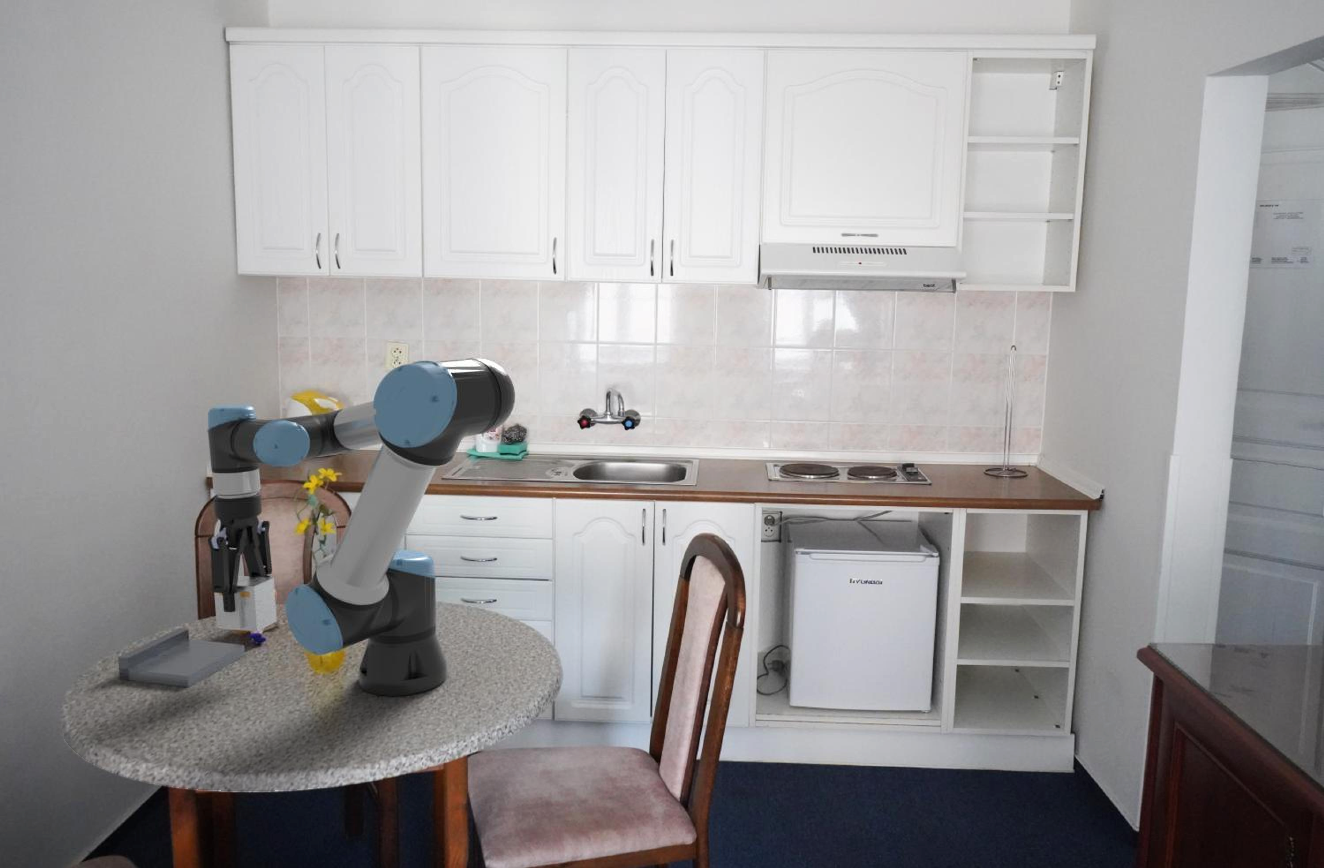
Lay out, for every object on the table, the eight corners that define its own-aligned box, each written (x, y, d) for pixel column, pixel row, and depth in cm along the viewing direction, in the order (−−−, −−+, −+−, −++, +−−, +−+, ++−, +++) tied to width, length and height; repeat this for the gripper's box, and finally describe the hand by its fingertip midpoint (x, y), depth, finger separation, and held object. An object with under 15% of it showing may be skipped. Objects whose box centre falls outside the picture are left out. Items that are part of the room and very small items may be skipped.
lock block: (276, 621, 169) (274, 577, 168) (256, 631, 163) (253, 586, 162) (237, 618, 170) (234, 575, 169) (216, 628, 165) (213, 584, 164)
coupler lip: (244, 655, 177) (243, 634, 177) (188, 687, 163) (187, 665, 162) (180, 648, 180) (179, 628, 180) (119, 678, 166) (118, 657, 165)
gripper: (252, 483, 174) (261, 605, 177) (180, 504, 156) (191, 639, 159) (288, 484, 172) (296, 607, 175) (219, 505, 154) (229, 642, 157)
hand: (246, 622), depth 167 cm, fingers closed on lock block, 6 cm apart
